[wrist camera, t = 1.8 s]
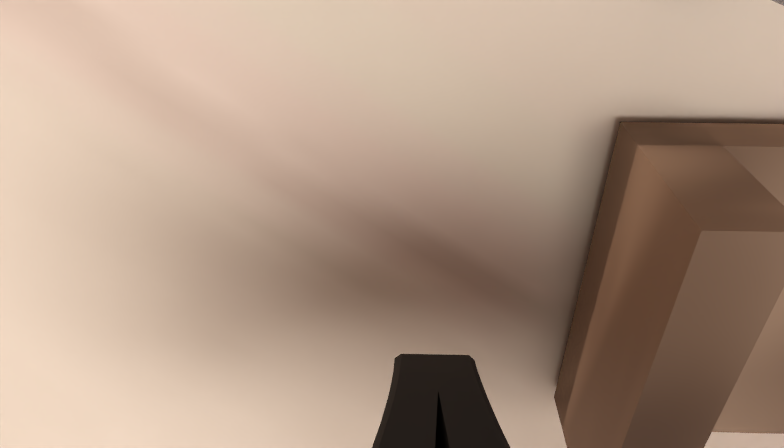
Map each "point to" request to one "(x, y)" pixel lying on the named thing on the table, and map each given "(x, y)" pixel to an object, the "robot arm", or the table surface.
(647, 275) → the strip
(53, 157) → the table surface
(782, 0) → the strip
